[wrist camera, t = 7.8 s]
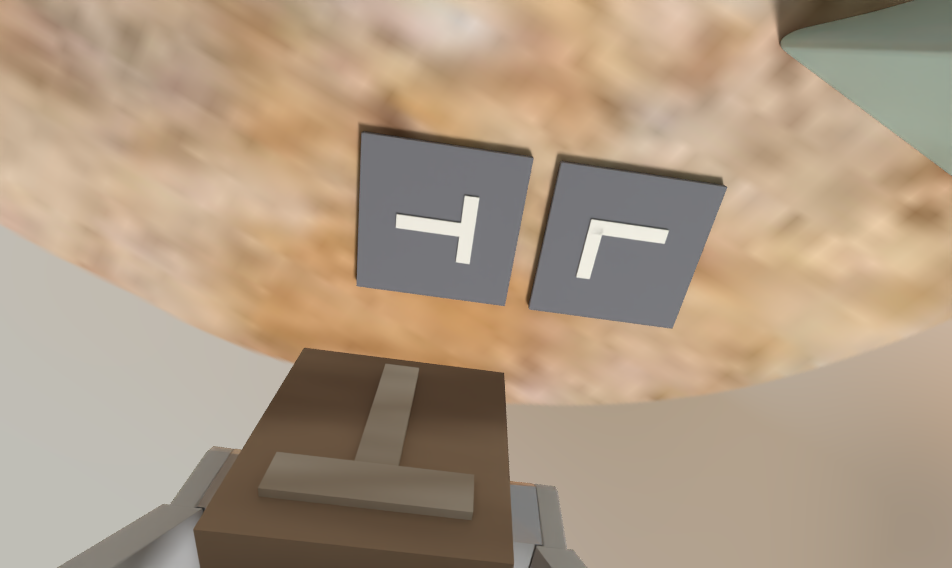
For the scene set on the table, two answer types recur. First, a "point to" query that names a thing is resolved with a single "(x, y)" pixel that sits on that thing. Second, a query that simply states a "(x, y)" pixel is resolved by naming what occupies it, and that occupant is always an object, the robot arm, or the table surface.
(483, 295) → the pad
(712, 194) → the pad
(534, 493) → the robot arm
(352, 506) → the cube
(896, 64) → the planter
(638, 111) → the table surface
